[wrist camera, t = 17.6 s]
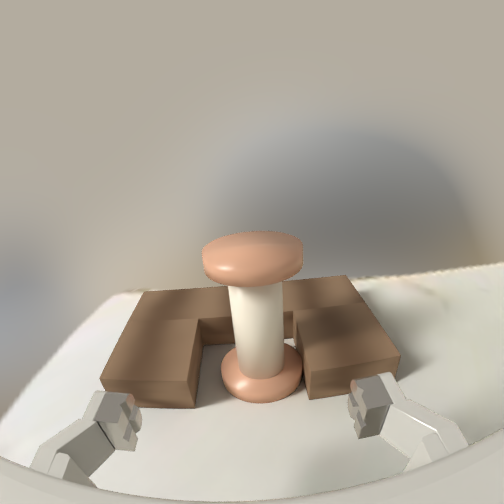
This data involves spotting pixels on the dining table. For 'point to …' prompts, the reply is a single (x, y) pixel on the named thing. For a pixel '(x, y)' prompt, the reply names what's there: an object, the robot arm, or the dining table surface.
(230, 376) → the bobbin
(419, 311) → the dining table surface
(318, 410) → the dining table surface
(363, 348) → the notched board
